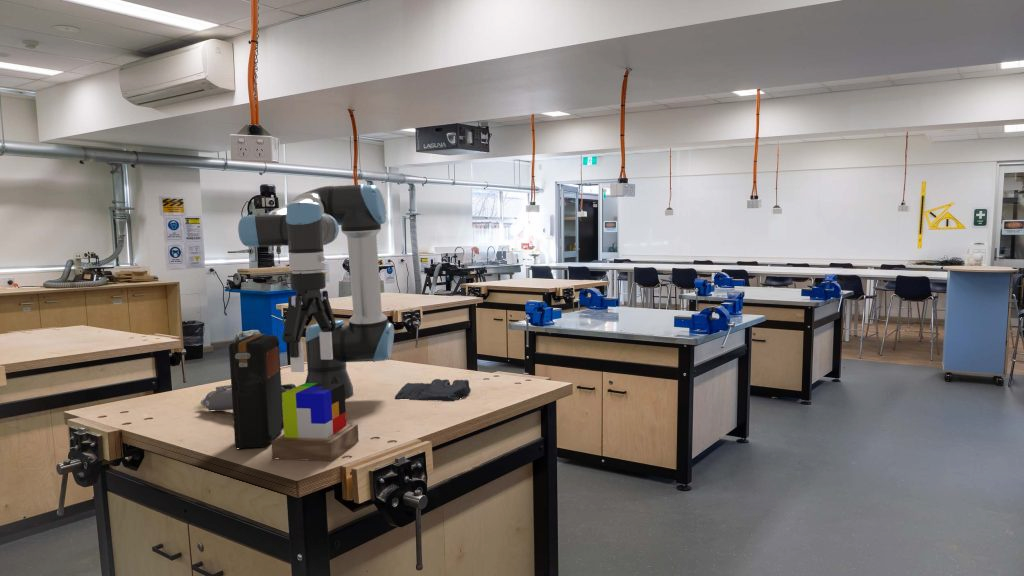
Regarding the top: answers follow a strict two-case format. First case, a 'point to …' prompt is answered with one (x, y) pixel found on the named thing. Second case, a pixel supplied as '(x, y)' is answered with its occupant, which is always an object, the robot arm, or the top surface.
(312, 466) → the top surface
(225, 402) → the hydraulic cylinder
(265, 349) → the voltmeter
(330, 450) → the plinth
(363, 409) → the top surface
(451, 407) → the top surface
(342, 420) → the puzzle toy
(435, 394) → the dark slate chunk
